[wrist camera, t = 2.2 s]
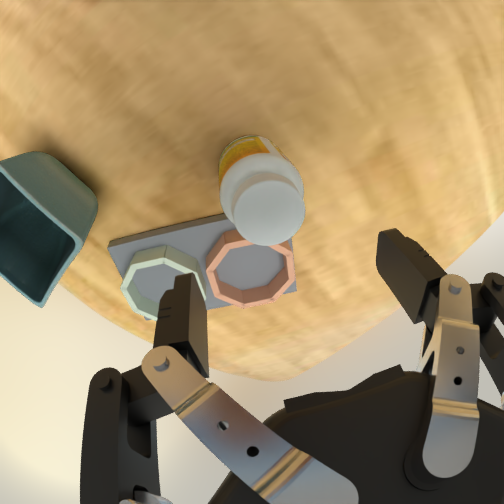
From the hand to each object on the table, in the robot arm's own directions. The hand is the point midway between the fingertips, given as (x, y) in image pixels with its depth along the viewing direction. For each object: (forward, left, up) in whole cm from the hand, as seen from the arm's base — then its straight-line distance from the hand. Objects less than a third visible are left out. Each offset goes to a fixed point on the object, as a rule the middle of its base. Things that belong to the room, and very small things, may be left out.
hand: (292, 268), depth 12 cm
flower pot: (-2, -17, -14) cm, 23 cm away
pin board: (+9, -6, -14) cm, 18 cm away
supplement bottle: (0, 0, -14) cm, 14 cm away
